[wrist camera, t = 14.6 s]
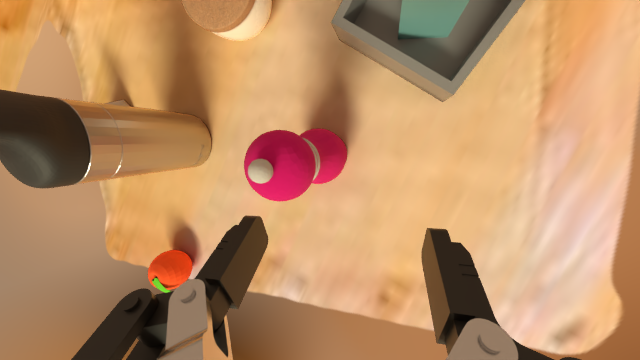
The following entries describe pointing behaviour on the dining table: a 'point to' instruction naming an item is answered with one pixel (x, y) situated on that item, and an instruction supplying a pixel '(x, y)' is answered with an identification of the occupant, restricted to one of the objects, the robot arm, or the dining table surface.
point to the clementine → (170, 270)
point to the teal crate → (429, 18)
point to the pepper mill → (293, 162)
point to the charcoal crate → (424, 41)
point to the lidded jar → (230, 16)
